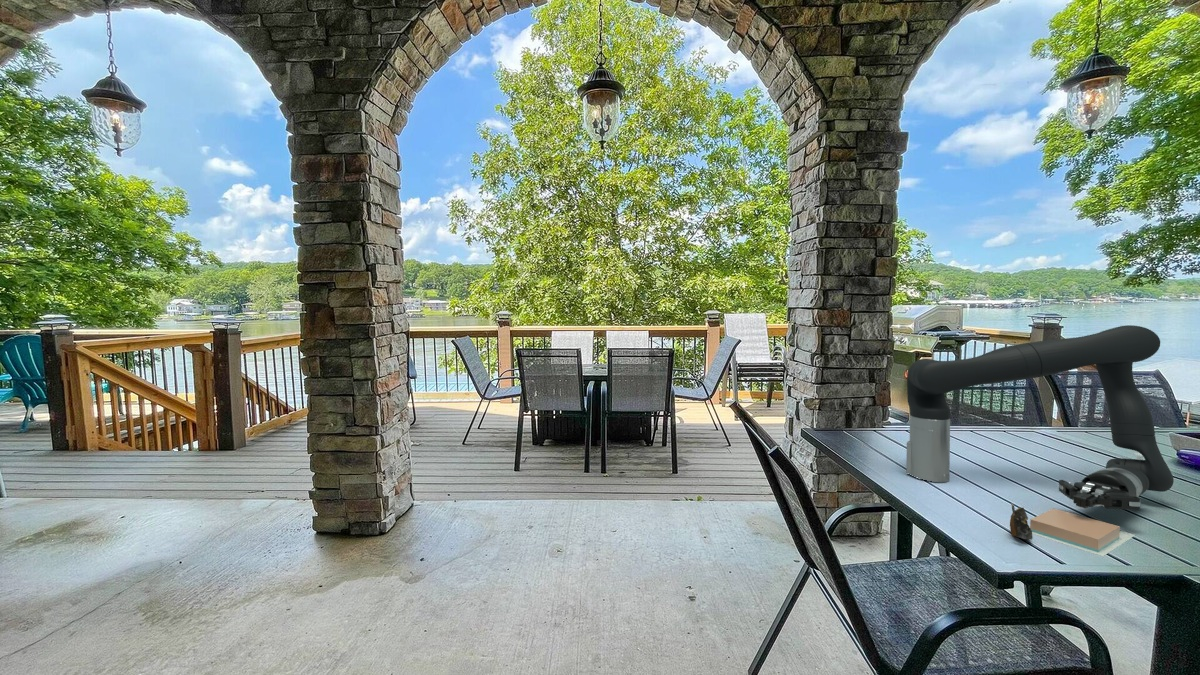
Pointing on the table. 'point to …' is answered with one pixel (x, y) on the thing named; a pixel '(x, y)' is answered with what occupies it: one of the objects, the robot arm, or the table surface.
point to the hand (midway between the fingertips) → (1080, 502)
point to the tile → (1075, 529)
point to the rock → (1020, 524)
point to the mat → (1123, 538)
